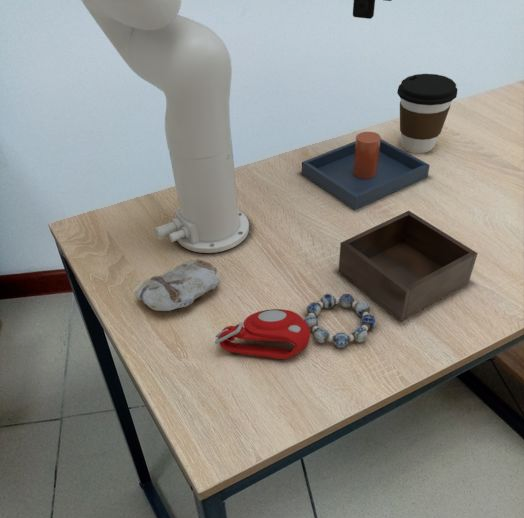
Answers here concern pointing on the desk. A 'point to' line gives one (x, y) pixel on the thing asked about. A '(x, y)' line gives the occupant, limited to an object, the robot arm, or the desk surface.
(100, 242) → the desk surface
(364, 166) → the orange cylinder
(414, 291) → the brown open box
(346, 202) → the tray
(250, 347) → the tracker holder
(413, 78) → the coffee cup
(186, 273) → the stone
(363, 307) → the bracelet
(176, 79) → the robot arm
